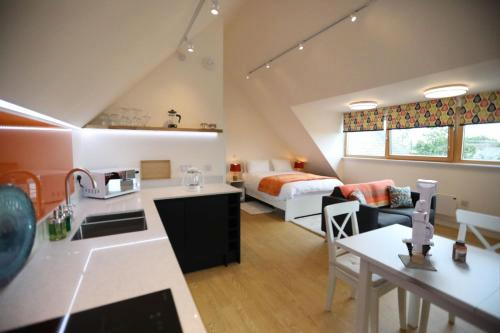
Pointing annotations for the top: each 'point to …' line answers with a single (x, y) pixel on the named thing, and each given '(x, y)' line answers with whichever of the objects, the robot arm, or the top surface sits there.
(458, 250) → the supplement bottle
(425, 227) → the robot arm
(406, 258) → the charcoal mat
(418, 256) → the wooden cube
